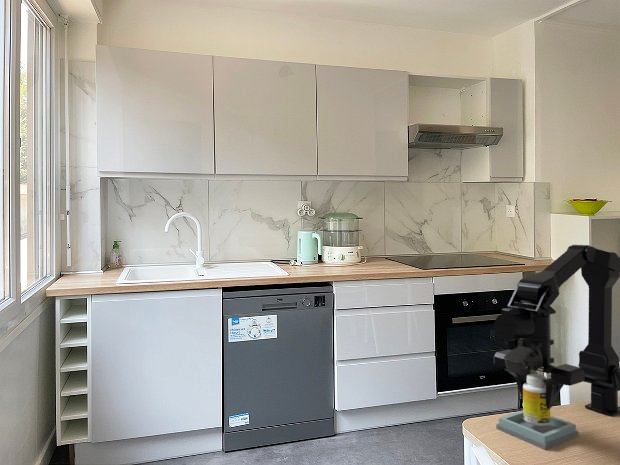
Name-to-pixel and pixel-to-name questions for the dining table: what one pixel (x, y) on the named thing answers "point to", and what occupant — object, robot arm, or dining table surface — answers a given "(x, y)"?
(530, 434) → the tray
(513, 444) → the dining table surface
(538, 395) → the supplement bottle
